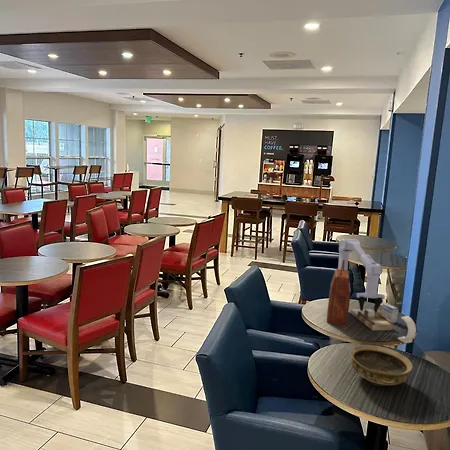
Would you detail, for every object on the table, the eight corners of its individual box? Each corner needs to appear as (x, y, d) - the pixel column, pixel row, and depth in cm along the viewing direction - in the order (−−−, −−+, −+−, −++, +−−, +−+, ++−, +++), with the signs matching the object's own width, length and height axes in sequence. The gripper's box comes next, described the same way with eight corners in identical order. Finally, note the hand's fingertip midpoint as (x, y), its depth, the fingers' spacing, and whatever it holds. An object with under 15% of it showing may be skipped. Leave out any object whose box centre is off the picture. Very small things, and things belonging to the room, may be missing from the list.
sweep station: (350, 312, 239) (351, 306, 238) (368, 312, 242) (369, 306, 241) (372, 330, 216) (373, 322, 215) (392, 330, 218) (393, 322, 218)
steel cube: (363, 315, 228) (364, 308, 227) (370, 315, 229) (371, 308, 228) (367, 318, 224) (368, 311, 223) (373, 318, 225) (374, 311, 224)
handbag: (326, 324, 221) (334, 262, 214) (327, 311, 239) (334, 253, 233) (346, 327, 218) (354, 265, 212) (345, 314, 237) (353, 256, 230)
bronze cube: (371, 315, 229) (372, 308, 228) (377, 315, 230) (378, 308, 229) (374, 318, 225) (375, 311, 224) (381, 318, 226) (382, 311, 225)
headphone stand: (404, 337, 209) (407, 315, 207) (413, 343, 204) (417, 320, 202) (397, 339, 207) (401, 316, 205) (407, 344, 202) (411, 321, 200)
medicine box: (380, 318, 235) (382, 303, 233) (385, 317, 237) (388, 303, 235) (390, 323, 228) (393, 308, 226) (396, 322, 230) (398, 308, 228)
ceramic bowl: (418, 407, 149) (422, 382, 147) (351, 396, 153) (354, 371, 151) (399, 367, 178) (402, 345, 176) (343, 358, 182) (345, 337, 180)
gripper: (361, 288, 210) (357, 312, 212) (388, 289, 210) (384, 314, 213) (356, 283, 217) (353, 307, 219) (382, 285, 217) (379, 309, 220)
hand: (368, 310), depth 216 cm, fingers open, 7 cm apart
